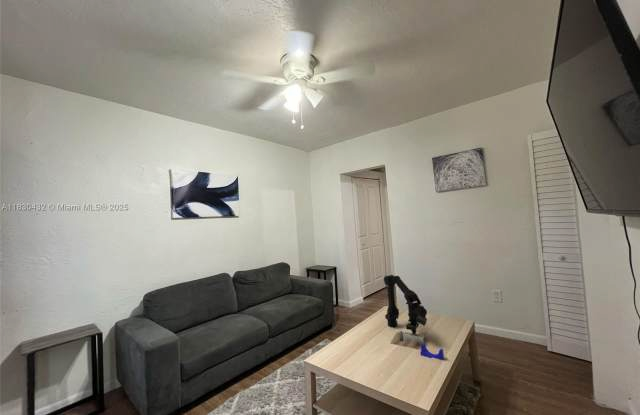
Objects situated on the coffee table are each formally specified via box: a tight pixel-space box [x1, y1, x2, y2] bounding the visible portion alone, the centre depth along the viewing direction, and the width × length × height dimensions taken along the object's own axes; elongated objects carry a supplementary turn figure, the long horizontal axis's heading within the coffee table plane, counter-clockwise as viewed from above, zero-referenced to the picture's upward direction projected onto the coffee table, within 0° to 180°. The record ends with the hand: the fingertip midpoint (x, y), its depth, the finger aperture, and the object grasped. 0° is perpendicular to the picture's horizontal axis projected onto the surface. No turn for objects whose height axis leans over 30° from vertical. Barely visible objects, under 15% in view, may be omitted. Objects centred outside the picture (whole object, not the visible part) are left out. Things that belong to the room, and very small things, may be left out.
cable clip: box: [419, 344, 445, 361], centre depth 153 cm, size 12×4×6 cm, turn 49°
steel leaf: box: [398, 330, 424, 345], centre depth 170 cm, size 15×2×6 cm, turn 58°
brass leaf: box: [402, 331, 425, 341], centre depth 171 cm, size 13×1×5 cm, turn 59°
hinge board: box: [389, 331, 430, 351], centre depth 173 cm, size 22×18×1 cm
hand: (414, 335), depth 174 cm, fingers closed
